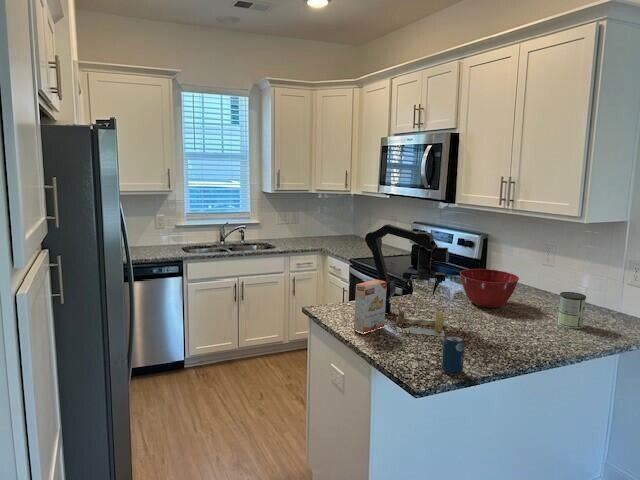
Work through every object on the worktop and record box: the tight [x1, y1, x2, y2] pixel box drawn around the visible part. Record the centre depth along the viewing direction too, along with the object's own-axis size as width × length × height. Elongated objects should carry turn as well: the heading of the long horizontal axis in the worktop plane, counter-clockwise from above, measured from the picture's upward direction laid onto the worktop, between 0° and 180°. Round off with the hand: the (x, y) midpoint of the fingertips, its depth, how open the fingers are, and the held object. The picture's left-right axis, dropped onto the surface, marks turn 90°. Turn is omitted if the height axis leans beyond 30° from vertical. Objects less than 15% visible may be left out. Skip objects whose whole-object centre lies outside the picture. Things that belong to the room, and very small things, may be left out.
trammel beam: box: [396, 310, 444, 328], centre depth 202 cm, size 20×10×6 cm, turn 79°
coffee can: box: [557, 291, 587, 329], centre depth 209 cm, size 10×10×14 cm
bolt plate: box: [408, 326, 446, 338], centre depth 197 cm, size 20×7×1 cm, turn 79°
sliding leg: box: [434, 311, 444, 331], centre depth 200 cm, size 3×11×7 cm, turn 169°
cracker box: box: [353, 279, 387, 333], centre depth 196 cm, size 14×6×21 cm, turn 134°
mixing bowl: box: [459, 268, 520, 309], centre depth 239 cm, size 28×28×15 cm
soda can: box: [441, 334, 466, 376], centre depth 158 cm, size 7×7×12 cm
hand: (422, 294), depth 211 cm, fingers open, 9 cm apart
